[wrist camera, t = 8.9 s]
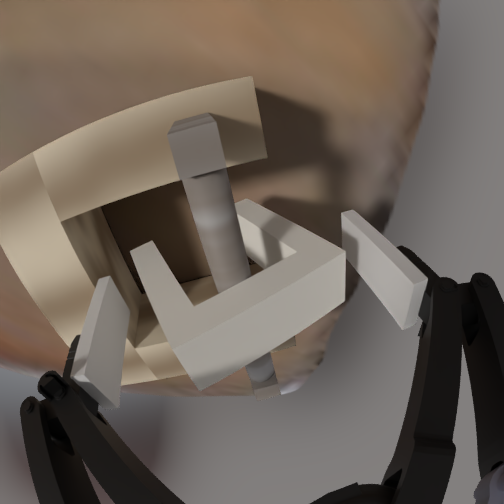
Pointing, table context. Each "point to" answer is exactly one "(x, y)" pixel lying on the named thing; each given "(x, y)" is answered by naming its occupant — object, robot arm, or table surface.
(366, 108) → the table surface
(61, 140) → the c-clamp
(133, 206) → the table surface
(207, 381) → the white u-shaped bracket
